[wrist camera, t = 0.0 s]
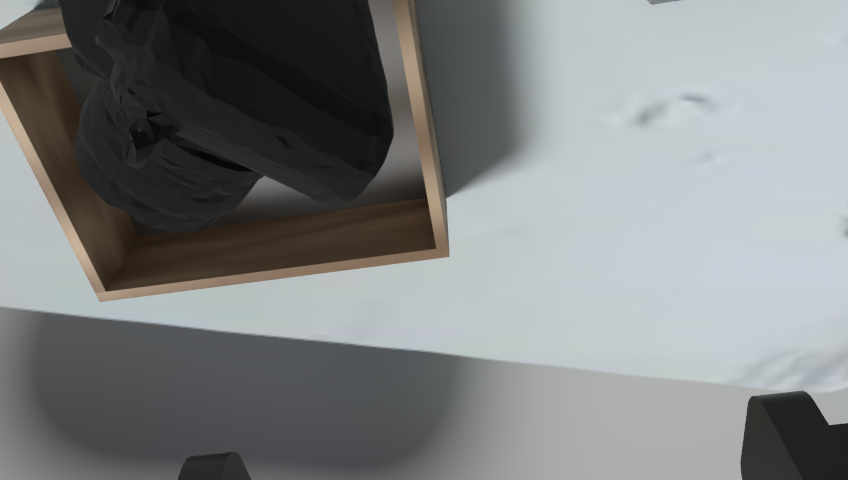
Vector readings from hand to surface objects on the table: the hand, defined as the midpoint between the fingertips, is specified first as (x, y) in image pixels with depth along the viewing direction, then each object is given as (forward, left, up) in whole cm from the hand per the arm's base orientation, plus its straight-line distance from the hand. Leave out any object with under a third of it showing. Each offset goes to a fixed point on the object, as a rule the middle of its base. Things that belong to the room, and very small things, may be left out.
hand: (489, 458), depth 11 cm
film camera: (+1, -5, -17) cm, 18 cm away
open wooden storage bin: (+5, -11, -29) cm, 32 cm away
